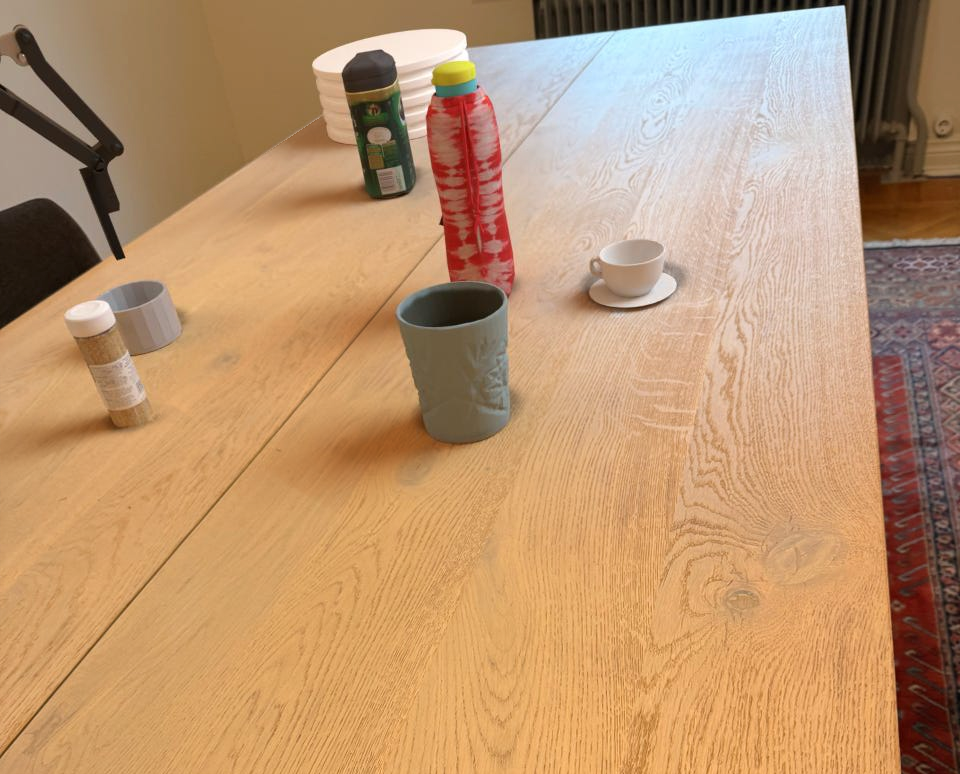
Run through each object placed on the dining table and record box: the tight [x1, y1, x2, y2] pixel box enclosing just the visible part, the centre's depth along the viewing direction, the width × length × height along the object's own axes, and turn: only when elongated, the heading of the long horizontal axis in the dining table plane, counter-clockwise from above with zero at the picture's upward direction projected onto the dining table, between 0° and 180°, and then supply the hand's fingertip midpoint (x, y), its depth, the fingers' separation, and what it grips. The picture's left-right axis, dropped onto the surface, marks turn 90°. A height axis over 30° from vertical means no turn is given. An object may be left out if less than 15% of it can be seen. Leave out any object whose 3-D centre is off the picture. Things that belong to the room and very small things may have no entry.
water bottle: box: [426, 60, 516, 300], centre depth 105 cm, size 12×8×25 cm, turn 5°
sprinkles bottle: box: [63, 299, 154, 428], centre depth 97 cm, size 5×5×14 cm
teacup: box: [588, 238, 678, 308], centre depth 107 cm, size 10×10×5 cm
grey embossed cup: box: [395, 281, 511, 445], centre depth 89 cm, size 10×10×12 cm
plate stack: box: [311, 28, 470, 146], centre depth 172 cm, size 28×28×12 cm
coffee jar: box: [342, 49, 417, 199], centre depth 141 cm, size 10×8×19 cm
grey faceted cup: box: [92, 279, 183, 356], centre depth 117 cm, size 9×9×6 cm
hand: (36, 279), depth 76 cm, fingers open, 13 cm apart
